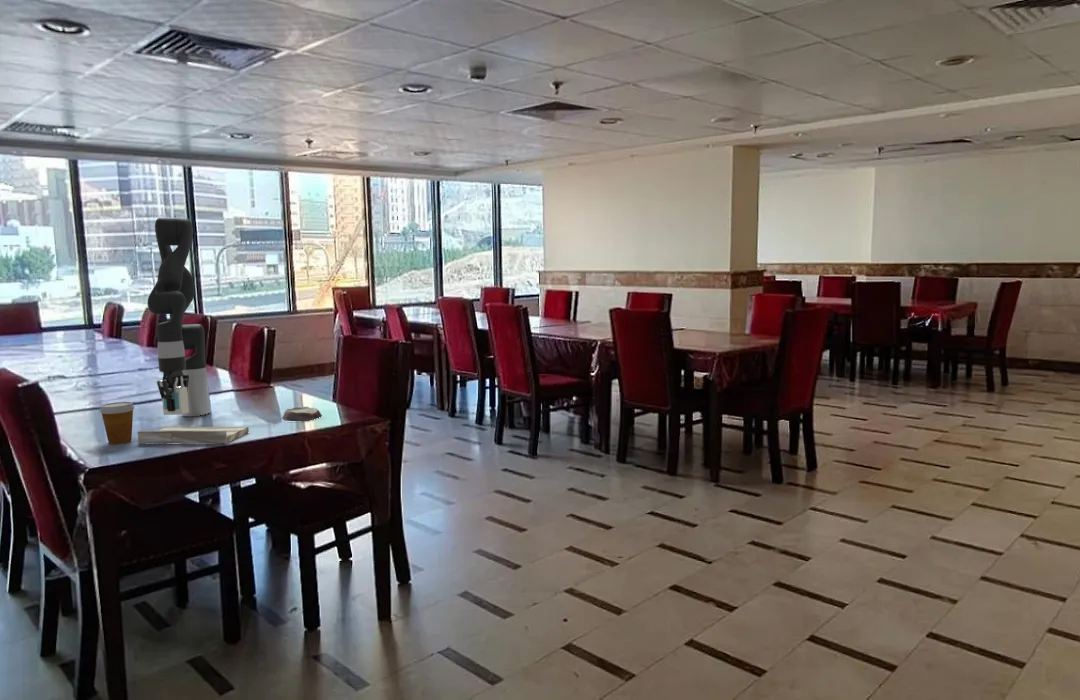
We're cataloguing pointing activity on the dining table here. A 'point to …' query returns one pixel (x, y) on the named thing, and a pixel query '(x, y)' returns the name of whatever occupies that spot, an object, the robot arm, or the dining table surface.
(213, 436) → the cream rectangular tray
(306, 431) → the dining table surface
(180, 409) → the carton
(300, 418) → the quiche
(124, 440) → the disposable coffee cup
